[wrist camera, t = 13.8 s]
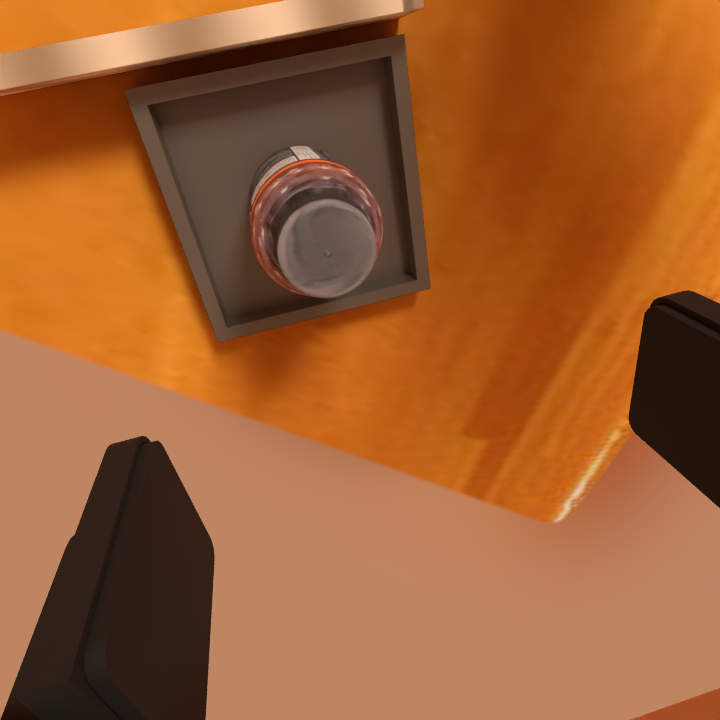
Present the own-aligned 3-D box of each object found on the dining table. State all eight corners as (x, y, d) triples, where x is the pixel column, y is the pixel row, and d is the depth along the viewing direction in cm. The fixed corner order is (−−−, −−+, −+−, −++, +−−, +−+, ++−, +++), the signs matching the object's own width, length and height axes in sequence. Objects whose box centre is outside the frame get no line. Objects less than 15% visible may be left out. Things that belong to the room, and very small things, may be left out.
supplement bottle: (366, 216, 30) (425, 278, 20) (283, 265, 30) (302, 348, 21) (318, 121, 27) (361, 141, 17) (227, 177, 27) (218, 227, 17)
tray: (392, 37, 26) (404, 34, 24) (420, 277, 33) (430, 288, 31) (131, 89, 25) (123, 90, 23) (219, 328, 32) (218, 342, 30)
